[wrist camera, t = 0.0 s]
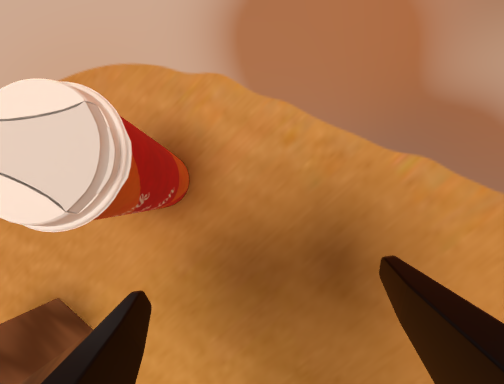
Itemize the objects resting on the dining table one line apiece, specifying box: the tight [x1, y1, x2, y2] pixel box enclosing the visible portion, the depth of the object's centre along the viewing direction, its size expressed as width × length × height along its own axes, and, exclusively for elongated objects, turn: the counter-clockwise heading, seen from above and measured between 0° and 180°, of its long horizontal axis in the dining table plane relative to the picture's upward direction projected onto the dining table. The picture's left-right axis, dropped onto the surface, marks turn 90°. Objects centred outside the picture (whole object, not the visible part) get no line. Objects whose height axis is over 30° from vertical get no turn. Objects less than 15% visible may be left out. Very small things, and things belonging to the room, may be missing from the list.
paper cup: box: [0, 78, 189, 232], centre depth 18 cm, size 8×8×14 cm
